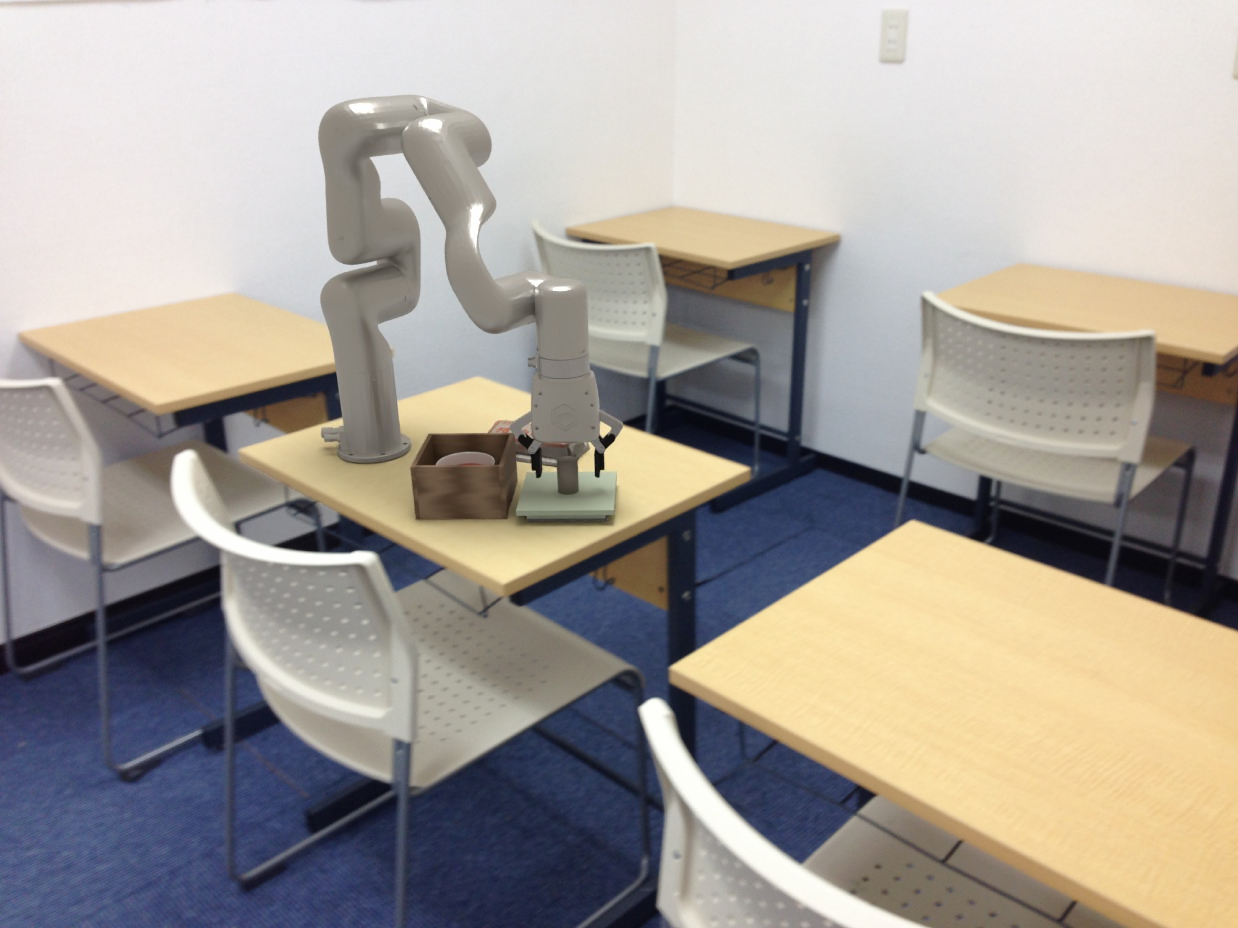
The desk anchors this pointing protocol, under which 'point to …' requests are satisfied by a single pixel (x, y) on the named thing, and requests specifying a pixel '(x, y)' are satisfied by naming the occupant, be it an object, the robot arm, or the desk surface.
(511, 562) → the desk surface
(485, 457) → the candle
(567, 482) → the lid
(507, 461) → the box
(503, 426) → the packaged product
